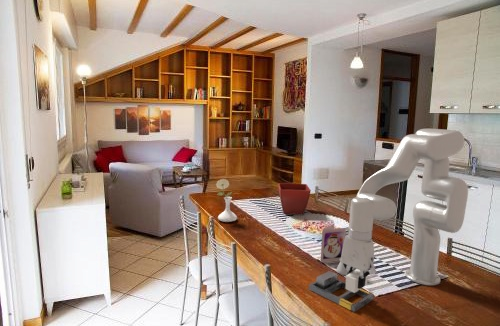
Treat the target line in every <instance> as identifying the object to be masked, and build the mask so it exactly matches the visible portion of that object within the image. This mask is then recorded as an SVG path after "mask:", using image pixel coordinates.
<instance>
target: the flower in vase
mask: <svg viewBox="0 0 500 326" xmlns="http://www.w3.org/2000/svg"><path fill="white" fill-rule="evenodd" d="M215 186H216V188H217V189H220V190H222V192H221V191H219V192H217V194H216V195H217V196H220V197H221V196H223V199H224V201H225V209H224V211H223V212H221V213H219V215H218V217H217V219H218V220H219V221H221V222H225V223H230V222H235V221H236V220H237V219H238V216H237V215H236V214H235V213H234V212H233V211H231V206H230V205H231V201H232V199H233V197H232V196H231V195H232V193H233V191H231V192H228V193H227V194H226V193H225V191H224V190H225V189H228V187H229V186H230V182H229V180H228V179H226V178H220V179H219V180H217V182H216V183H215ZM224 196H225V197H224Z"/></svg>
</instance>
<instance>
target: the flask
mask: <svg viewBox="0 0 500 326" xmlns="http://www.w3.org/2000/svg"><path fill="white" fill-rule="evenodd" d="M354 270H355V269H353V271H354ZM335 272H336V274H339V275H341V276H346V275H347V272H346V268H345V267H344V265H343V264H342V263H341V262H340V261H339V264H338V265H337V267H336V270H335Z"/></svg>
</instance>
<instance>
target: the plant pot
mask: <svg viewBox="0 0 500 326" xmlns="http://www.w3.org/2000/svg"><path fill="white" fill-rule="evenodd" d="M278 193H279V200H280V205H281V210H282V212H283V214H284V215H304V214H305V211H306V210H307V206H308V203H309V200H310V195H311V189H310V187H309V186H308V184H307V183H291V182H289V183H286V182H285V183H284V182H283V183H282V182H279V183H278Z"/></svg>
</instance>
